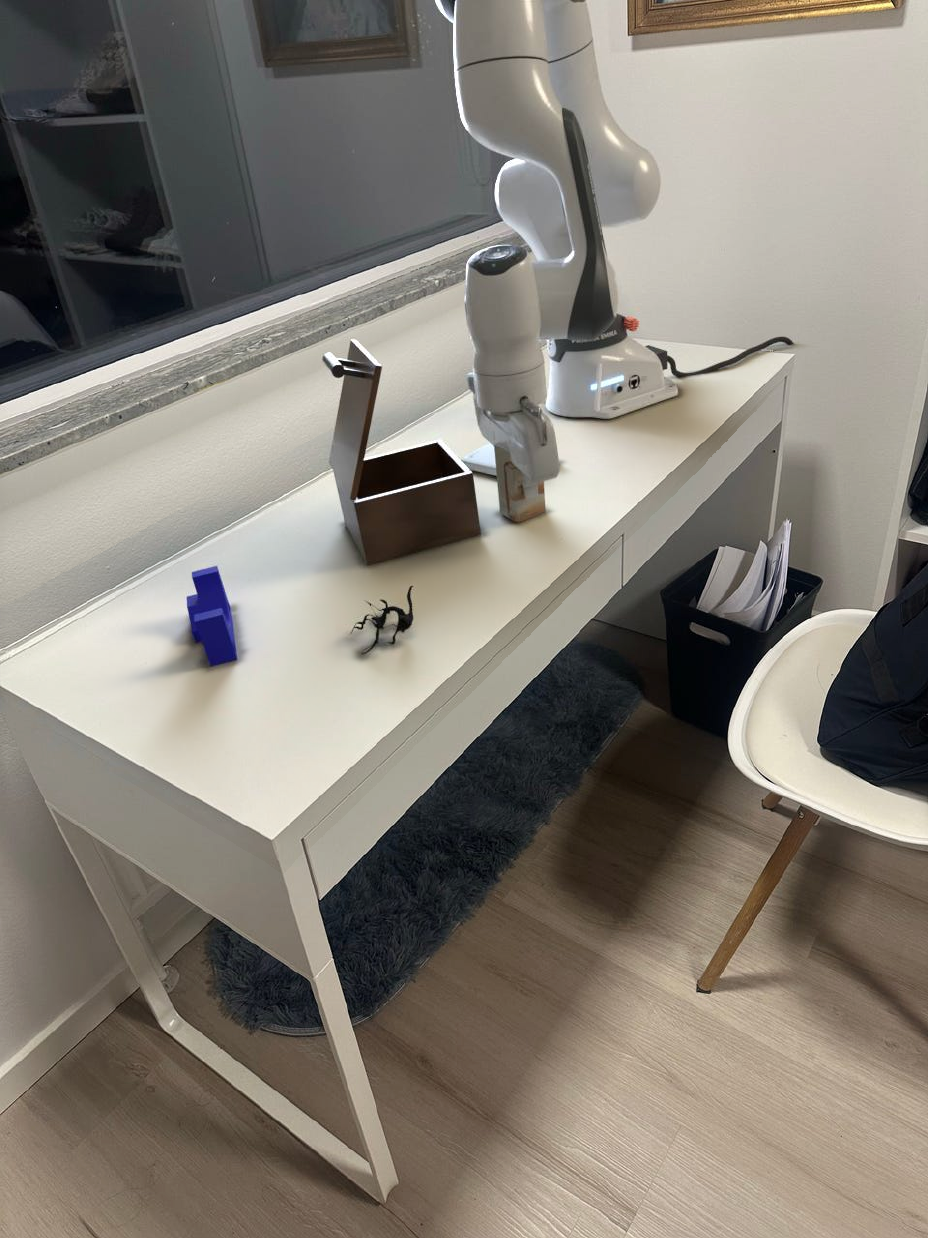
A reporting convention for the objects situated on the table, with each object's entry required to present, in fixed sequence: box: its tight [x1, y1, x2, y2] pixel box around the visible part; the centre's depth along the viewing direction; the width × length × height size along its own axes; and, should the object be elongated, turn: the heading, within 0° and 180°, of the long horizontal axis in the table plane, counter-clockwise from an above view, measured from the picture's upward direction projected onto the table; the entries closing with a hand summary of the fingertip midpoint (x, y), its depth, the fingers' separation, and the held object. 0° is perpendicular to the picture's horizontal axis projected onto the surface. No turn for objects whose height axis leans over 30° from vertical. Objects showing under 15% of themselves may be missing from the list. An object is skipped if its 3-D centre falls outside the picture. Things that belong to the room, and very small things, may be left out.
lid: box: [321, 339, 383, 500], centre depth 110 cm, size 16×14×5 cm
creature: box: [350, 585, 414, 655], centre depth 98 cm, size 8×5×8 cm
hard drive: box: [460, 442, 497, 477], centre depth 134 cm, size 2×8×12 cm
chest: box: [332, 439, 482, 566], centre depth 118 cm, size 16×14×9 cm
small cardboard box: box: [494, 443, 547, 523], centre depth 118 cm, size 5×4×10 cm
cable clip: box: [186, 565, 238, 667], centre depth 102 cm, size 12×4×6 cm, turn 16°
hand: (521, 488), depth 118 cm, fingers closed on small cardboard box, 5 cm apart
